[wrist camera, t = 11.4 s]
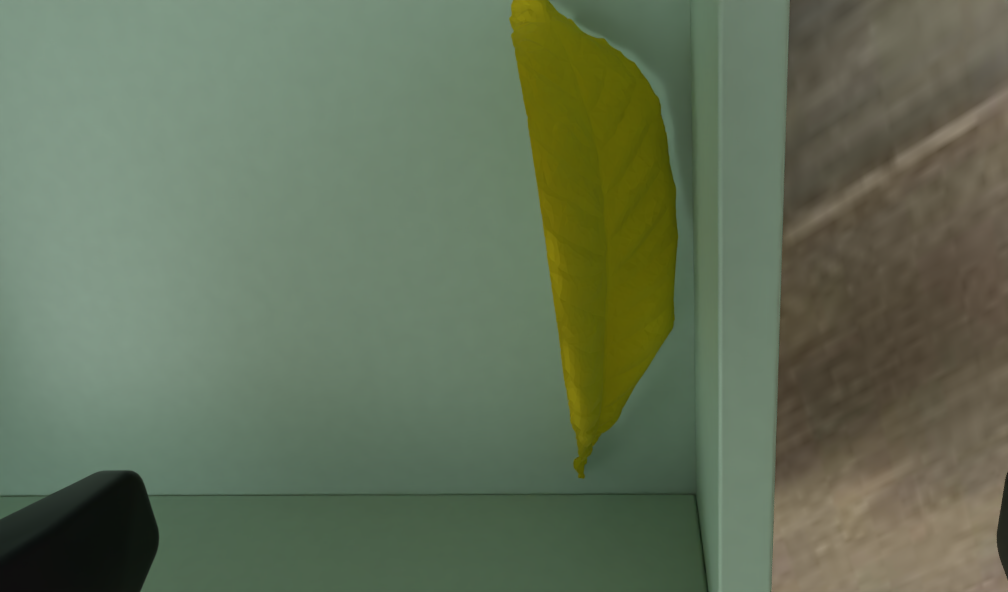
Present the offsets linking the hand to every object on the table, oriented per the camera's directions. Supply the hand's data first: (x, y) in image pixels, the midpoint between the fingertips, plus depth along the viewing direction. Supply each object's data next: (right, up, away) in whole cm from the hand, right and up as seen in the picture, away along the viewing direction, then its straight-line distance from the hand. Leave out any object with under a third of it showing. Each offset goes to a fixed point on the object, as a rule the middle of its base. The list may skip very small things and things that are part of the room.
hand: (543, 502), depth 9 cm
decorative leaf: (+2, +3, +7) cm, 8 cm away
